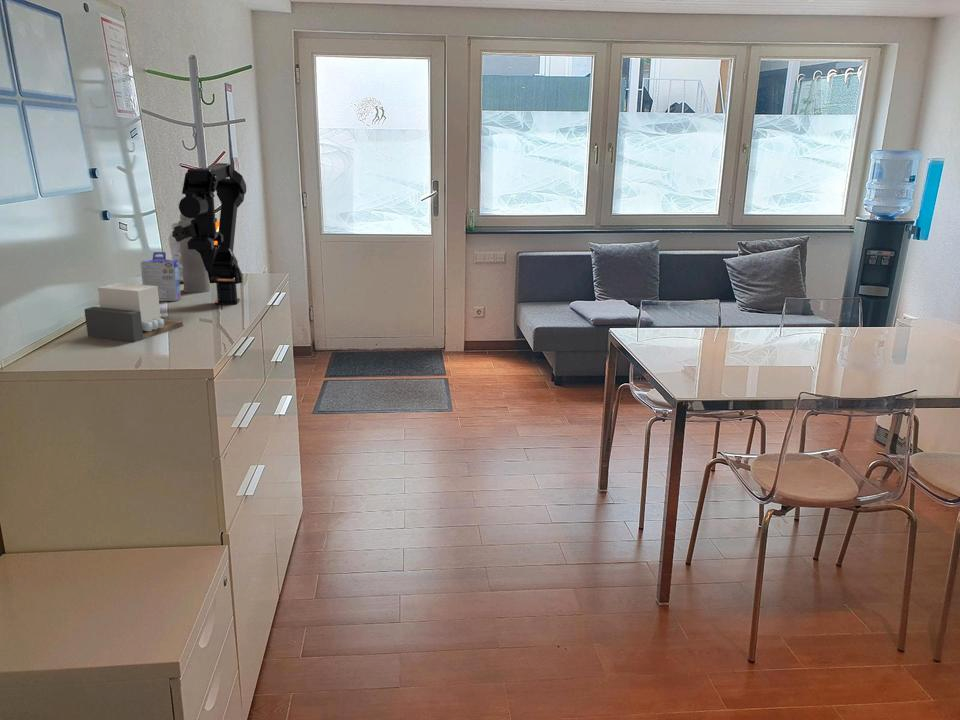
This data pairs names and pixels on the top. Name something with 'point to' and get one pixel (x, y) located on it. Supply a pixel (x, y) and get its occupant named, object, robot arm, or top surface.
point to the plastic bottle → (176, 252)
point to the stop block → (114, 324)
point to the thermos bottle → (192, 265)
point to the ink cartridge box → (162, 276)
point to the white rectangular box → (134, 302)
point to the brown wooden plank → (163, 328)
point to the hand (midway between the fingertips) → (208, 271)
